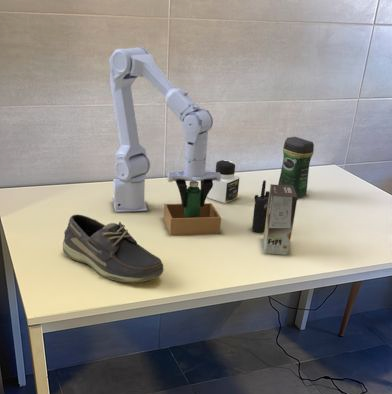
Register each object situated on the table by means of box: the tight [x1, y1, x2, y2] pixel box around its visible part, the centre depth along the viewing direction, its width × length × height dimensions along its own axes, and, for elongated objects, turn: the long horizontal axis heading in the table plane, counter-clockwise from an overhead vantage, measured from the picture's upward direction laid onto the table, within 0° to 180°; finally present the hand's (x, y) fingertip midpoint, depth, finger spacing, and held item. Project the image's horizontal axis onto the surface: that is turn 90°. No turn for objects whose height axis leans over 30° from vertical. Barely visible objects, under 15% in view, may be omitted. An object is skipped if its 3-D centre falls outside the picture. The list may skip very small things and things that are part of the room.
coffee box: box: [262, 183, 299, 256], centre depth 142 cm, size 9×6×16 cm
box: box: [163, 202, 222, 236], centre depth 154 cm, size 14×11×5 cm
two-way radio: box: [251, 179, 270, 233], centre depth 152 cm, size 6×4×15 cm
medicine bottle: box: [207, 159, 241, 204], centre depth 173 cm, size 7×7×12 cm
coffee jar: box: [277, 136, 315, 199], centre depth 179 cm, size 10×8×19 cm
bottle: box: [184, 181, 202, 217], centre depth 151 cm, size 5×5×9 cm
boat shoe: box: [62, 214, 164, 283], centre depth 128 cm, size 11×29×11 cm, turn 58°
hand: (192, 205), depth 152 cm, fingers closed on bottle, 4 cm apart
